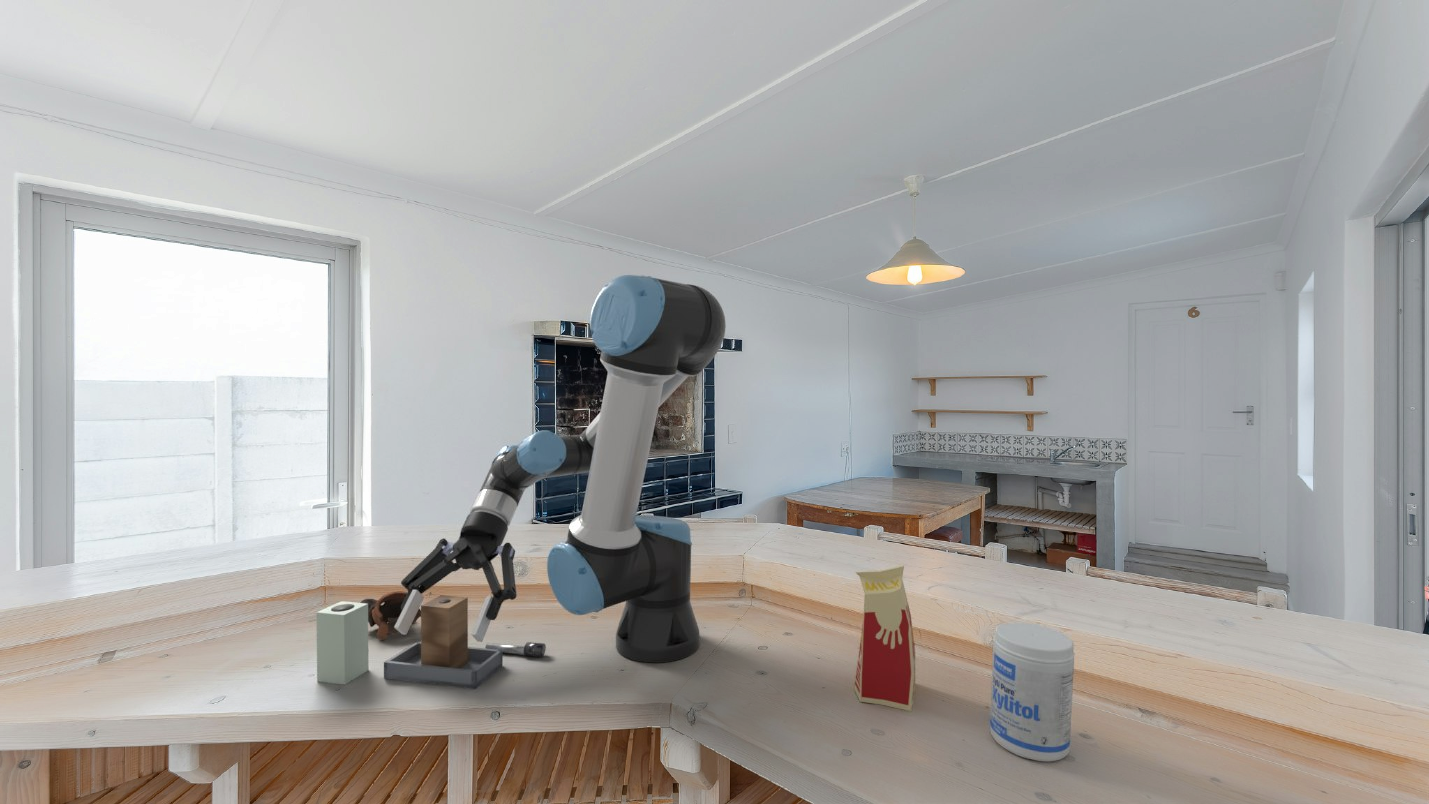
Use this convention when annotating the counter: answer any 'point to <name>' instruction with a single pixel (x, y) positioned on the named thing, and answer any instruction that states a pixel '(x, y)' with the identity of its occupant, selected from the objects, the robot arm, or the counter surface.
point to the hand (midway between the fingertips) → (437, 634)
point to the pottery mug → (386, 613)
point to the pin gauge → (520, 649)
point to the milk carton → (886, 642)
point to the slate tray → (444, 668)
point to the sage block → (342, 642)
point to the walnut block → (445, 632)
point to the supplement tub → (1032, 690)
